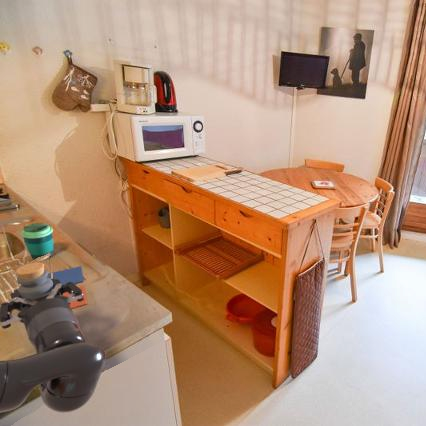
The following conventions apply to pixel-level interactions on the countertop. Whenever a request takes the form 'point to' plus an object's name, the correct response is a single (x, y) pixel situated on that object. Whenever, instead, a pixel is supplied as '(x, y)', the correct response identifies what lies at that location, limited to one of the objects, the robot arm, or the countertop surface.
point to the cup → (38, 239)
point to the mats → (71, 276)
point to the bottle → (33, 281)
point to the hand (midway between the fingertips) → (35, 287)
